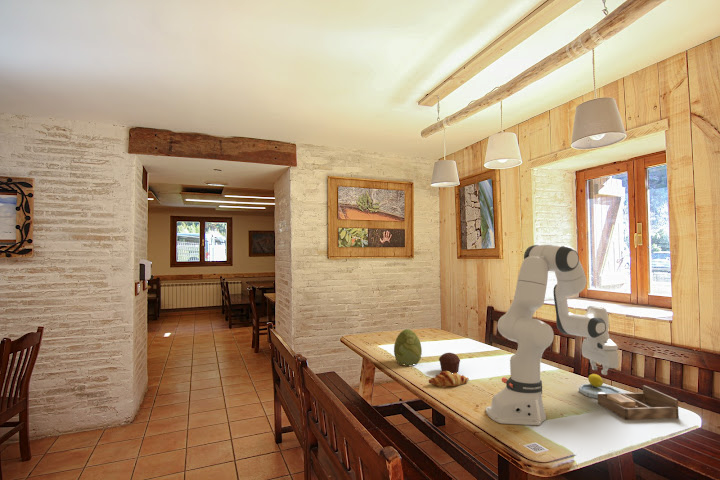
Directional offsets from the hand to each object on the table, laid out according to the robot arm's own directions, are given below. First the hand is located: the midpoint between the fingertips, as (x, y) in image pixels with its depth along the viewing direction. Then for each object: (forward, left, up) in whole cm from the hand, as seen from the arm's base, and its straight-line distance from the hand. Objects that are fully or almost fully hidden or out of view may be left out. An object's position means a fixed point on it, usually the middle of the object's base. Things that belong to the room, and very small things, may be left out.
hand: (599, 372), depth 172 cm
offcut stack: (-4, -19, -10) cm, 22 cm away
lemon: (0, +1, -6) cm, 6 cm away
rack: (+2, -19, -10) cm, 21 cm away
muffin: (-59, +37, -10) cm, 70 cm away
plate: (0, 0, -10) cm, 10 cm away
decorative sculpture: (-79, +55, -10) cm, 97 cm away
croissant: (-65, +17, -10) cm, 68 cm away
